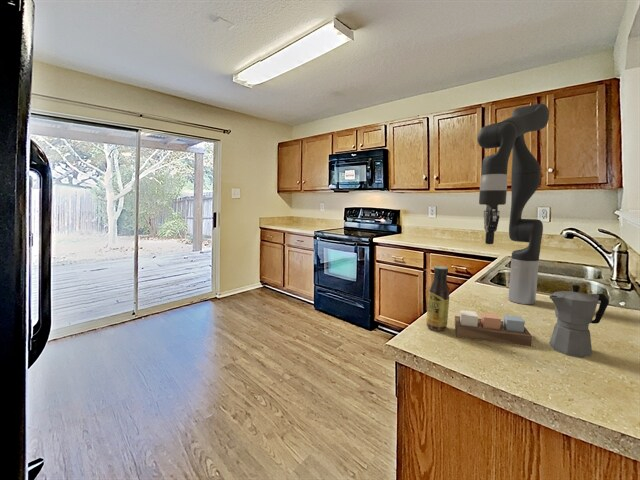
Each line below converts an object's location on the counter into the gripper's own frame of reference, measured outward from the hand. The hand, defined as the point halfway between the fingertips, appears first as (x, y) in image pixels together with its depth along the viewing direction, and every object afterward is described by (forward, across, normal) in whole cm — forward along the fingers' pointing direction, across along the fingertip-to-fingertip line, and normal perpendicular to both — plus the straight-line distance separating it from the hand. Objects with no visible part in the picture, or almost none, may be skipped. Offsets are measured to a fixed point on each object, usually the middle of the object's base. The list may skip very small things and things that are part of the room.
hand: (489, 243), depth 101 cm
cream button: (+24, -10, +6) cm, 27 cm away
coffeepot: (+27, -13, -20) cm, 36 cm away
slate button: (+24, -10, -6) cm, 27 cm away
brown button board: (+26, -10, 0) cm, 28 cm away
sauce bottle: (+27, -10, +15) cm, 32 cm away
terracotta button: (+25, -10, 0) cm, 26 cm away
